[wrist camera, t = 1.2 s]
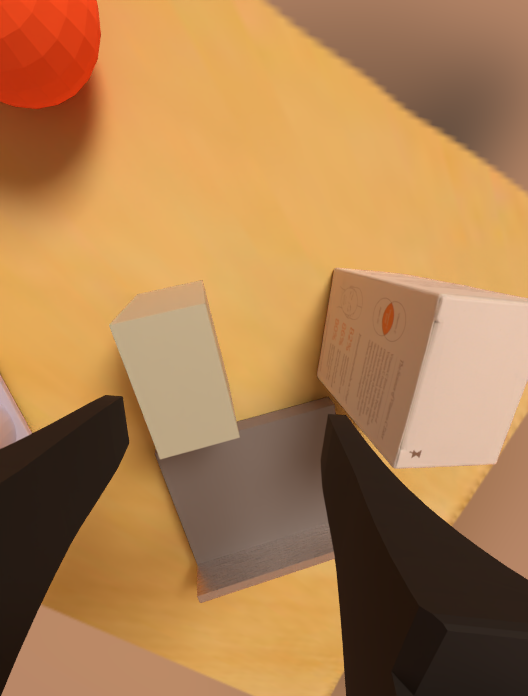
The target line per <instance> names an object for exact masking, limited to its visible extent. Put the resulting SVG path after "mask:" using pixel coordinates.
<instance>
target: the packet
mask: <svg viewBox="0 0 528 696" xmlns="http://www.w3.org/2000/svg"><path fill="white" fill-rule="evenodd" d="M109 326H110V329H111V332H112V334H113V337H114V340H115V342H116V345H117V348H118V350H119V353H120V355H121V358H122V361H123V363H124V366H125V369H126V371H127V374H128V376H129V379H130V382H131V384H132V387H133V390H134V392H135V395H136V398H137V400H138V403H139V405H140V408H141V411H142V413H143V416H144V419H145V421H146V424H147V427H148V429H149V432H150V434H151V437H152V440H153V442H154V445H155V448H156V450H157V453H158V455H159V458H160V459H164V458H167V457H171V456H175V455H178V454H182V453H186V452H189V451H193V450H196V449H200V448H204V447H207V446H211V445H215V444H218V443H222V442H225V441H229V440H233V439H236V438H240V436H239V431H238V426H237V422H236V417H235V412H234V407H233V402H232V397H231V392H230V388H229V383H228V378H227V374H226V370H225V366H224V362H223V359H222V355H221V351H220V347H219V343H218V339H217V335H216V331H215V327H214V323H213V319H212V315H211V312H210V308H209V304H208V300H207V296H206V292H205V288H204V284H203V280H200V281H196V282H191V283H187V284H182V285H177V286H173V287H168V288H164V289H159V290H155V291H150V292H145V293H141V294H137V295H136V296H135V297H134V298H133V300H132V301H131V302H130V303H129V304H128V305H127V306H126V307H125V308H124V309H123V310H122V311H121V313H120V314H119V315H118V316H117V317H116V318H115V319H114V320H113V321H112V322H111V323H110V324H109Z"/></svg>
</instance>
